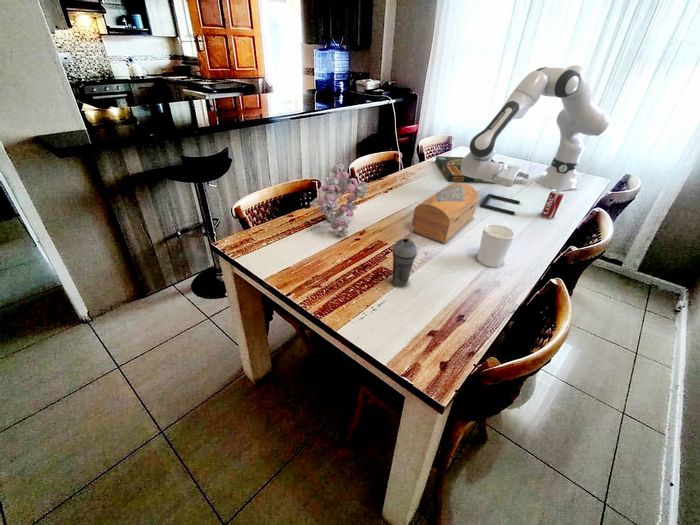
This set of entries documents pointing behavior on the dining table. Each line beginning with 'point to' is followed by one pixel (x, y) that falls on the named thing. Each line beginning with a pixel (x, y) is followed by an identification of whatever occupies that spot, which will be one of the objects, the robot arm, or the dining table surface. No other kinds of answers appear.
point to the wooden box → (445, 212)
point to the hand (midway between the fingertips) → (527, 179)
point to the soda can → (552, 204)
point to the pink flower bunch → (334, 192)
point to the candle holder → (494, 244)
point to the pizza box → (455, 170)
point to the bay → (497, 207)
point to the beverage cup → (403, 260)
